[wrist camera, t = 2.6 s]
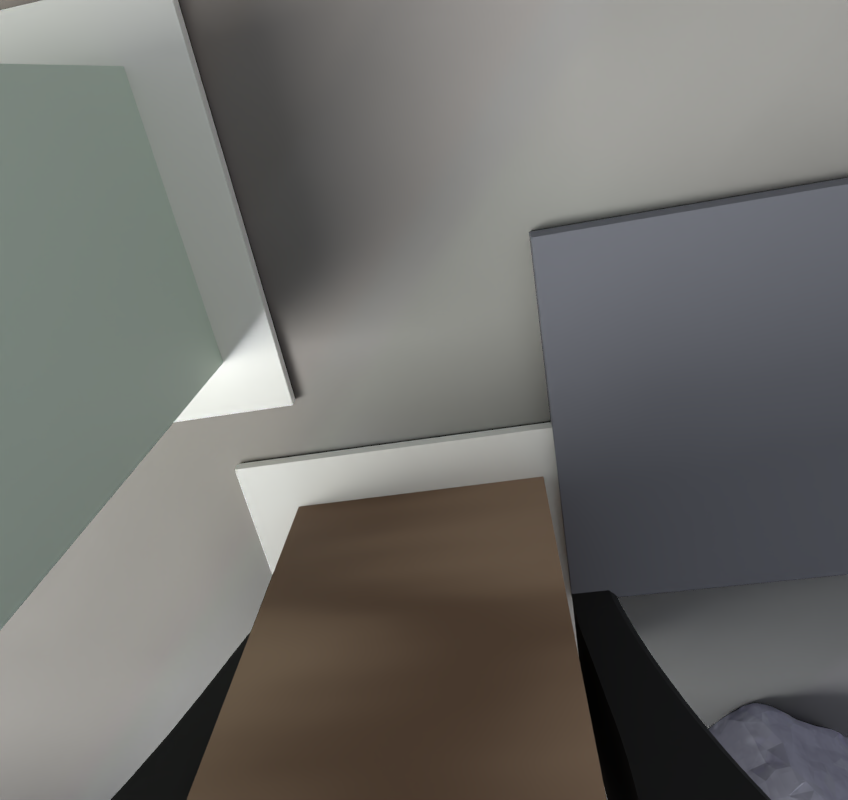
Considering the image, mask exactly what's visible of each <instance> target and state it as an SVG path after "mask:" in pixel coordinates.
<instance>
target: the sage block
mask: <svg viewBox="0 0 848 800" xmlns="http://www.w3.org/2000/svg"><path fill="white" fill-rule="evenodd" d="M222 364H223V360H222V357H221V354H220V351H219V348H218V345H217V342H216V339H215V336H214V333H213V330H212V327H211V324H210V321H209V318H208V315H207V313H206V310H205V307H204V304H203V301H202V298H201V295H200V292H199V289H198V286H197V283H196V280H195V277H194V274H193V271H192V268H191V265H190V262H189V259H188V256H187V253H186V250H185V247H184V244H183V241H182V238H181V235H180V232H179V229H178V226H177V223H176V220H175V217H174V214H173V212H172V209H171V206H170V203H169V200H168V197H167V194H166V191H165V188H164V185H163V182H162V179H161V176H160V173H159V170H158V167H157V164H156V161H155V158H154V155H153V152H152V149H151V146H150V143H149V140H148V137H147V134H146V131H145V128H144V125H143V122H142V119H141V116H140V113H139V111H138V108H137V105H136V102H135V99H134V96H133V93H132V90H131V87H130V84H129V81H128V78H127V75H126V72H125V69H124V66H92V65H45V64H0V630H1V629H2V628H3V626H4V625H5V624H6V623H7V622H8V620H9V619H10V618H11V617H12V616H13V614H14V613H15V612H16V611H17V610H18V608H19V607H20V606H21V605H22V604H23V602H24V601H25V600H26V599H27V598H28V596H29V595H30V594H31V593H32V592H33V590H34V589H35V588H36V587H37V586H38V584H39V583H40V582H41V581H42V580H43V578H44V577H45V576H46V575H47V574H48V572H49V571H50V570H51V569H52V568H53V566H54V565H55V564H56V563H57V562H58V560H59V559H60V558H61V557H62V556H63V554H64V553H65V552H66V551H67V550H68V548H69V547H70V546H71V545H72V544H73V542H74V541H75V540H76V539H77V538H78V536H79V535H80V534H81V533H82V532H83V530H84V529H85V528H86V527H87V526H88V524H89V523H90V522H91V521H92V520H93V518H94V517H95V516H96V515H97V514H98V512H99V511H100V510H101V509H102V508H103V506H104V505H105V504H106V503H107V502H108V500H109V499H110V498H111V497H112V496H113V494H114V493H115V492H116V491H117V490H118V488H119V487H120V486H121V485H122V484H123V482H124V481H125V480H126V479H127V478H128V476H129V475H130V474H131V473H132V472H133V470H134V469H135V468H136V467H137V466H138V464H139V463H140V462H141V461H142V460H143V458H144V457H145V456H146V455H147V454H148V452H149V451H150V450H151V449H152V448H153V446H154V445H155V444H156V443H157V442H158V440H159V439H160V438H161V437H162V436H163V434H164V433H165V432H166V431H167V430H168V428H169V427H170V426H171V425H172V424H173V422H174V421H175V420H176V419H177V418H178V416H179V415H180V414H181V413H182V412H183V410H184V409H185V408H186V407H187V406H188V404H189V403H190V402H191V401H192V400H193V398H194V397H195V396H196V395H197V394H198V392H199V391H200V390H201V389H202V388H203V386H204V385H205V384H206V383H207V382H208V380H209V379H210V378H211V377H212V376H213V374H214V373H215V372H216V371H217V370H218V368H219V367H220V366H221V365H222Z"/></svg>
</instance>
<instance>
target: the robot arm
mask: <svg viewBox="0 0 848 800" xmlns="http://www.w3.org/2000/svg"><path fill="white" fill-rule="evenodd" d="M572 602H573V611H574V619H575V628H576V637H577V646H578V655H579V661H580V666H581V671H582V676H583V681H584V687H585V692H586V697H587V702H588V707H589V712H590V717H591V722H592V727H593V733H594V738H595V743H596V748H597V753H598V758H599V763H600V768H601V773H602V779H603V784H604V787H605V791H606V795H607V798H608V800H771V799H770V798H769V797H768V796H767V795H766V794H765V793H764V792H763V790H762V789H761V788H760V787H759V786H758V785H757V784H756V783H755V782H754V781H753V780H752V779H751V778H750V777H749V776H748V775H747V773H746V772H745V771H744V770H743V769H742V768H741V767H740V766H739V765H738V763H737V762H736V761H735V760H734V759H733V758H732V757H731V756H730V754H729V753H728V752H727V751H726V750H725V749H724V748H723V746H722V745H721V744H720V743H719V742H718V740H717V739H716V738H715V737H714V736H713V734H712V733H711V732H710V731H709V730H708V728H707V727H706V726H705V725H704V724H703V722H702V721H701V720H700V719H699V718H698V716H697V715H696V714H695V713H694V711H693V710H692V709H691V708H690V706H689V705H688V704H687V702H686V701H685V700H684V699H683V697H682V696H681V695H680V693H679V692H678V691H677V689H676V688H675V687H674V685H673V684H672V683H671V681H670V680H669V678H668V677H667V676H666V674H665V673H664V672H663V670H662V669H661V668H660V666H659V665H658V663H657V662H656V661H655V659H654V658H653V656H652V655H651V653H650V652H649V650H648V649H647V647H646V646H645V644H644V643H643V641H642V640H641V638H640V637H639V635H638V634H637V632H636V630H635V629H634V627H633V626H632V624H631V622H630V621H629V619H628V617H627V615H626V614H625V612H624V610H623V608H622V606H621V604H620V602H619V600H618V598H617V596H616V595H615V594H614V593H612V592H611V591H609V590H606V591H596V592H586V593H576V594H572ZM250 633H251V632H250ZM250 633H249V634H248V636H247V637H246V638H245V639H244V641H243V642H242V643H241V644H240V646H239V647H238V648H237V649H236V651H235V652H234V653H233V654H232V656H231V657H230V658H229V660H228V661H227V662H226V663H225V665H224V666H223V667H222V669H221V670H220V671H219V672H218V674H217V675H216V676H215V678H214V679H213V680H212V681H211V683H210V684H209V685H208V686H207V688H206V689H205V690H204V692H203V693H202V694H201V695H200V697H199V698H198V699H197V700H196V702H195V703H194V704H193V705H192V706H191V708H190V709H189V710H188V711H187V713H186V714H185V715H184V716H183V718H182V719H181V720H180V721H179V722H178V724H177V725H176V726H175V727H174V729H173V730H172V731H171V732H170V733H169V735H168V736H167V737H166V738H165V739H164V740H163V742H162V743H161V744H160V745H159V746H158V747H157V748H156V750H155V751H154V752H153V753H152V754H151V755H150V756H149V758H148V759H147V760H146V761H145V762H144V763H143V764H142V766H141V767H140V768H139V769H138V770H137V771H136V772H135V774H134V775H133V776H132V777H131V778H130V779H129V780H128V782H127V783H126V784H125V785H124V786H123V787H122V788H121V789H120V790H119V791H118V792H117V793H116V795H115V796H114V797H113V798H112V799H111V800H187V797H188V795H189V792H190V790H191V787H192V784H193V782H194V779H195V776H196V774H197V771H198V769H199V766H200V763H201V761H202V758H203V756H204V753H205V750H206V748H207V745H208V742H209V740H210V737H211V735H212V732H213V729H214V727H215V724H216V722H217V719H218V716H219V714H220V711H221V708H222V706H223V703H224V701H225V698H226V695H227V693H228V690H229V688H230V685H231V682H232V680H233V677H234V675H235V672H236V669H237V667H238V664H239V661H240V659H241V656H242V654H243V651H244V648H245V646H246V643H247V641H248V638H249V635H250Z"/></svg>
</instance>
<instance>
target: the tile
mask: <svg viewBox="0 0 848 800" xmlns="http://www.w3.org/2000/svg"><path fill="white" fill-rule="evenodd" d="M0 64H45V65H92V66H124V69H125V72H126V75H127V78H128V81H129V84H130V87H131V90H132V93H133V96H134V99H135V102H136V105H137V108H138V111H139V113H140V116H141V119H142V122H143V125H144V128H145V131H146V134H147V137H148V140H149V143H150V146H151V149H152V152H153V155H154V158H155V161H156V164H157V167H158V170H159V173H160V176H161V179H162V182H163V185H164V188H165V191H166V194H167V197H168V200H169V203H170V206H171V209H172V212H173V214H174V217H175V220H176V223H177V226H178V229H179V232H180V235H181V238H182V241H183V244H184V247H185V250H186V253H187V256H188V259H189V262H190V265H191V268H192V271H193V274H194V277H195V280H196V283H197V286H198V289H199V292H200V295H201V298H202V301H203V304H204V307H205V310H206V313H207V315H208V318H209V321H210V324H211V327H212V330H213V333H214V336H215V339H216V342H217V345H218V348H219V351H220V354H221V357H222V360H223V364H222V365H221V366H220V367H219V368H218V370H217V371H216V372H215V373H214V374H213V376H212V377H211V378H210V379H209V380H208V382H207V383H206V384H205V385H204V386H203V388H202V389H201V390H200V391H199V392H198V394H197V395H196V396H195V397H194V398H193V400H192V401H191V402H190V403H189V404H188V406H187V407H186V408H185V409H184V410H183V412H182V413H181V414H180V415H179V416H178V418H177V419H176V420H175V421H174V422H179V421H186V420H193V419H200V418H207V417H214V416H221V415H228V414H235V413H242V412H249V411H256V410H263V409H270V408H277V407H284V406H290V405H293V404H294V402H295V397H294V393H293V390H292V386H291V383H290V380H289V376H288V373H287V369H286V366H285V363H284V359H283V356H282V352H281V349H280V346H279V342H278V339H277V335H276V332H275V329H274V325H273V322H272V319H271V315H270V312H269V308H268V305H267V302H266V298H265V295H264V291H263V288H262V285H261V281H260V278H259V274H258V271H257V268H256V264H255V261H254V257H253V254H252V251H251V247H250V244H249V240H248V237H247V234H246V230H245V227H244V223H243V220H242V217H241V213H240V210H239V206H238V203H237V200H236V196H235V193H234V189H233V186H232V183H231V179H230V176H229V172H228V169H227V166H226V162H225V159H224V155H223V152H222V149H221V145H220V142H219V138H218V135H217V132H216V128H215V125H214V121H213V118H212V115H211V111H210V108H209V104H208V101H207V98H206V94H205V91H204V87H203V84H202V81H201V77H200V74H199V70H198V67H197V64H196V60H195V57H194V53H193V50H192V47H191V43H190V40H189V36H188V33H187V30H186V26H185V23H184V19H183V16H182V13H181V9H180V6H179V2H178V0H41V1H37V2H33V3H29V4H24V5H20V6H16V7H12V8H7V9H3V10H0Z"/></svg>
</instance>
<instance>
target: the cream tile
mask: <svg viewBox="0 0 848 800" xmlns="http://www.w3.org/2000/svg"><path fill="white" fill-rule="evenodd" d="M235 472H236V475H237V478H238V481H239V483H240V486H241V489H242V492H243V495H244V497H245V500H246V503H247V506H248V509H249V511H250V514H251V517H252V520H253V523H254V526H255V528H256V531H257V534H258V537H259V540H260V542H261V545H262V548H263V551H264V554H265V557H266V559H267V562H268V565H269V568H270V571H271V573H272V575H273V573H274V570H275V567H276V565H277V562H278V560H279V557H280V554H281V552H282V549H283V546H284V544H285V541H286V539H287V536H288V533H289V531H290V528H291V526H292V523H293V520H294V518H295V515H296V512H297V510H298V507H300V506H308V505H316V504H324V503H332V502H340V501H349V500H357V499H365V498H373V497H381V496H389V495H397V494H405V493H413V492H421V491H429V490H437V489H446V488H454V487H462V486H470V485H478V484H486V483H494V482H502V481H510V480H518V479H526V478H534V477H544V482H545V487H546V493H547V498H548V503H549V508H550V513H551V518H552V523H553V528H554V533H555V538H556V544H557V549H558V554H559V559H560V564H561V569H562V574H563V579H564V584H565V590H566V595H567V600H568V605H569V610H570V615H571V620H572V625H573V630H574V636H575V641H576V646H577V637H576V628H575V619H574V611H573V602H572V595H571V588H570V579H569V570H568V561H567V552H566V544H565V535H564V526H563V517H562V509H561V500H560V491H559V482H558V473H557V465H556V456H555V447H554V438H553V430H552V424H551V422H548V423H540V424H533V425H525V426H518V427H510V428H503V429H495V430H488V431H480V432H473V433H465V434H458V435H451V436H443V437H436V438H428V439H421V440H413V441H406V442H398V443H391V444H383V445H376V446H368V447H361V448H353V449H346V450H338V451H331V452H323V453H316V454H309V455H301V456H294V457H286V458H279V459H271V460H264V461H256V462H249V463H241V464H238V465H237V467H236V468H235ZM577 651H578V646H577ZM578 656H579V655H578Z"/></svg>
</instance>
